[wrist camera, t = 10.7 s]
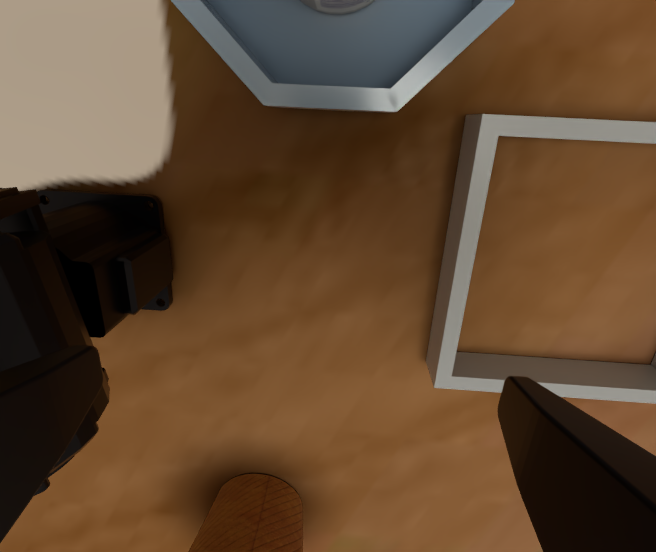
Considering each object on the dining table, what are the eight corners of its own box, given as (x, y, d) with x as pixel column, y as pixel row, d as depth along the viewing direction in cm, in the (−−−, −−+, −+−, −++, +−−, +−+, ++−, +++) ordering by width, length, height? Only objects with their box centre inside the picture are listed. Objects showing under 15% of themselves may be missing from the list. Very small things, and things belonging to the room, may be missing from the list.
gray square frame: (425, 361, 23) (433, 387, 21) (466, 114, 18) (482, 114, 16) (659, 377, 23) (694, 406, 21) (766, 129, 18) (828, 130, 16)
